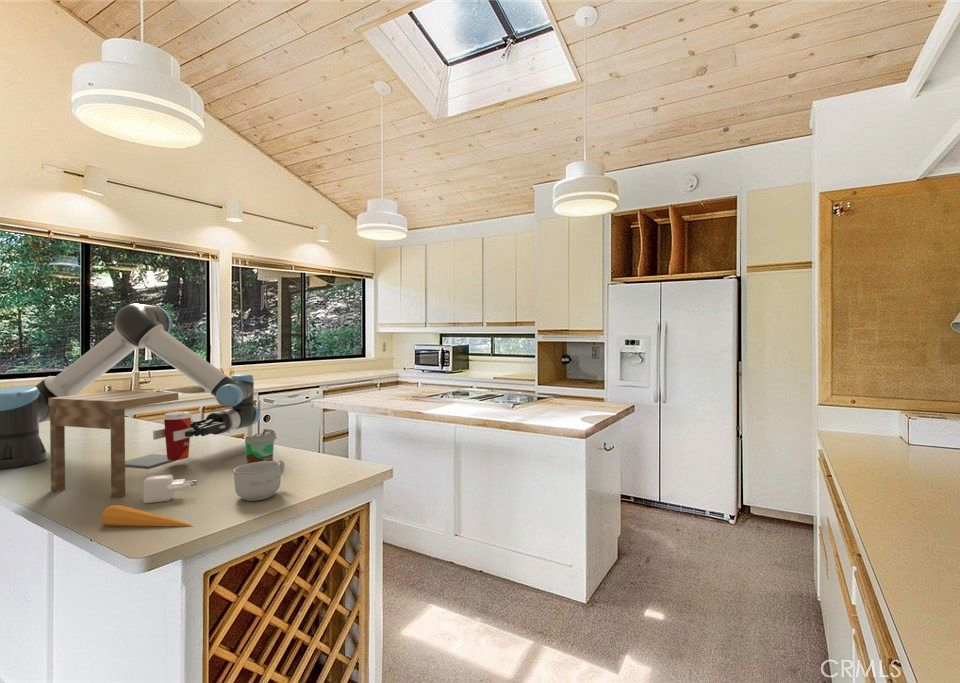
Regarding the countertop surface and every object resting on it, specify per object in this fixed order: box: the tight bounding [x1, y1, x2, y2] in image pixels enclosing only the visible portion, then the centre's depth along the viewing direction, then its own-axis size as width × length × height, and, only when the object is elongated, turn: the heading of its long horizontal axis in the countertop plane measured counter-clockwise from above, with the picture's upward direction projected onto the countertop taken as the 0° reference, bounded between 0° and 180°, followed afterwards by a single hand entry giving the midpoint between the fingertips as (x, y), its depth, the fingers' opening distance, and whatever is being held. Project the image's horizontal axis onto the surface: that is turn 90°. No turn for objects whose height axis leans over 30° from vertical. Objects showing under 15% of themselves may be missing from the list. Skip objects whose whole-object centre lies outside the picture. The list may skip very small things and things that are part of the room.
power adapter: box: [142, 474, 199, 504], centre depth 118 cm, size 11×5×6 cm, turn 115°
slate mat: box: [125, 453, 176, 469], centre depth 152 cm, size 12×12×1 cm
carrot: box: [100, 504, 192, 528], centre depth 103 cm, size 20×4×4 cm, turn 87°
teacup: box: [232, 459, 286, 502], centre depth 122 cm, size 14×11×8 cm
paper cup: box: [162, 410, 193, 461], centre depth 149 cm, size 8×8×14 cm
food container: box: [244, 428, 277, 464], centre depth 149 cm, size 12×6×10 cm, turn 179°
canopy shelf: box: [48, 389, 179, 499], centre depth 130 cm, size 22×18×24 cm
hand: (164, 435), depth 144 cm, fingers closed on paper cup, 7 cm apart
